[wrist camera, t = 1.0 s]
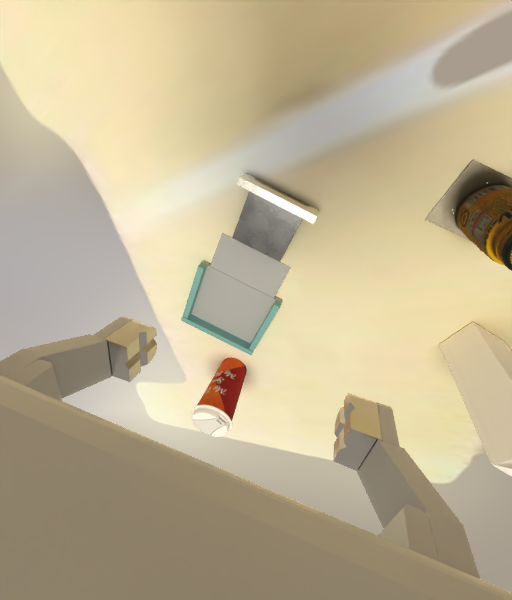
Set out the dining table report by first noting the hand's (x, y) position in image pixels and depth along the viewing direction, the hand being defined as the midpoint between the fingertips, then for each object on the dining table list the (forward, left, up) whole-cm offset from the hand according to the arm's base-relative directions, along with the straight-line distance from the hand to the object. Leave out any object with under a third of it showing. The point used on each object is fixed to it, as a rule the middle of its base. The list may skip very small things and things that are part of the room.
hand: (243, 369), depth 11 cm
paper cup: (+39, +2, -32) cm, 50 cm away
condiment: (-7, +18, -32) cm, 37 cm away
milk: (+9, +32, -32) cm, 46 cm away
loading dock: (+20, -4, -32) cm, 38 cm away
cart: (+6, -4, -31) cm, 32 cm away
